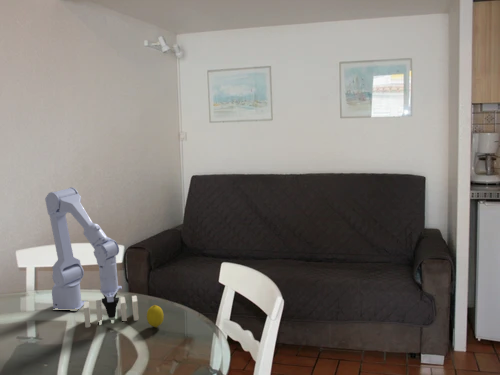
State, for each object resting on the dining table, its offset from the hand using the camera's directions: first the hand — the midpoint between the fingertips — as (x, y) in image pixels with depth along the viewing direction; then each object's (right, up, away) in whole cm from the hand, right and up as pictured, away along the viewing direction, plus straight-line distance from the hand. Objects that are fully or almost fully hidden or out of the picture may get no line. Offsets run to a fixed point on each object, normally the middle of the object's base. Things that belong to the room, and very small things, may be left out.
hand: (111, 313), depth 183 cm
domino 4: (+4, -2, +2) cm, 5 cm away
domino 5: (+8, -2, +3) cm, 8 cm away
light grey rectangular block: (-8, -3, -1) cm, 8 cm away
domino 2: (-4, -3, 0) cm, 5 cm away
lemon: (+16, -4, -5) cm, 17 cm away
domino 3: (0, -3, +1) cm, 3 cm away
